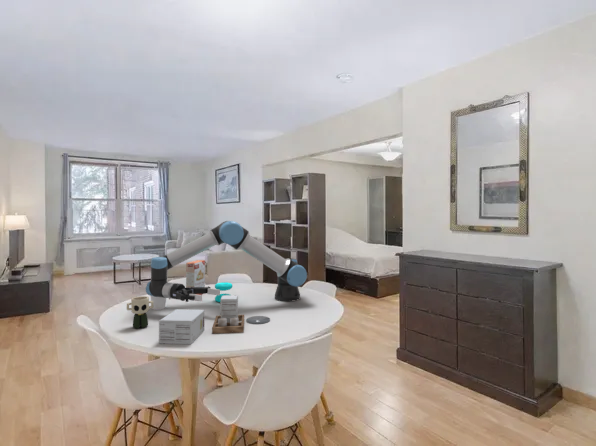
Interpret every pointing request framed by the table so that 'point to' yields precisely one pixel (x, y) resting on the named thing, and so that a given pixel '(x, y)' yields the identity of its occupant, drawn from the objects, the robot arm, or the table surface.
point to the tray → (228, 325)
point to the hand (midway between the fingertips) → (210, 295)
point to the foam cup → (158, 302)
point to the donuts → (222, 289)
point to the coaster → (258, 319)
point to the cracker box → (195, 274)
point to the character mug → (140, 310)
